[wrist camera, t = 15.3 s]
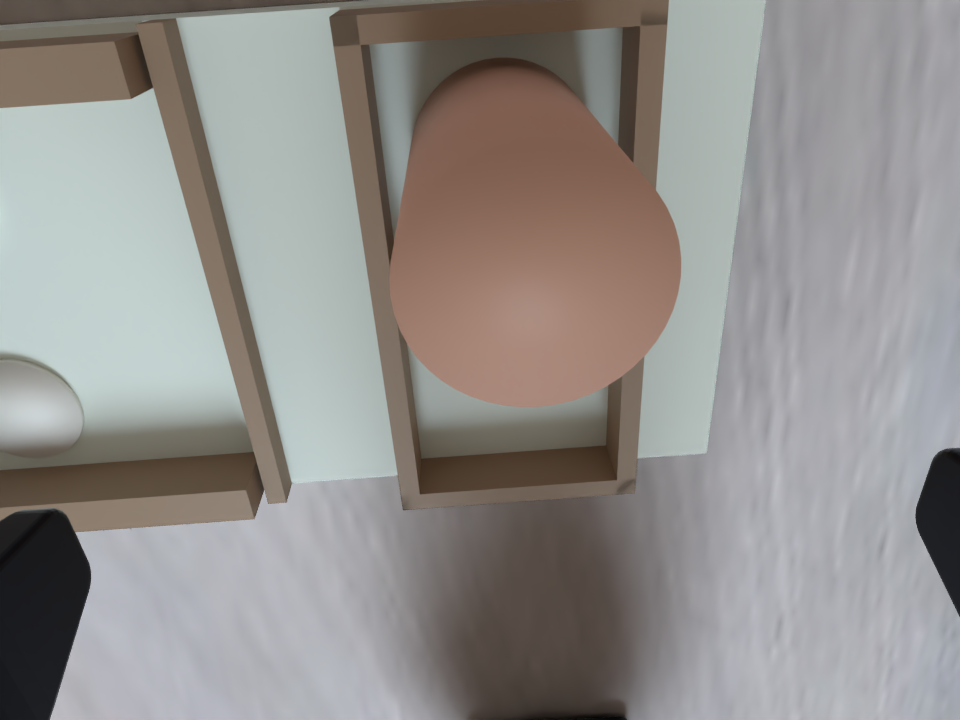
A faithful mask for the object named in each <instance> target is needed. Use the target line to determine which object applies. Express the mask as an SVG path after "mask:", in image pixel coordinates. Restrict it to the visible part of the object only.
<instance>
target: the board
mask: <svg viewBox="0 0 960 720" xmlns="http://www.w3.org/2000/svg"><path fill="white" fill-rule="evenodd" d="M765 5H766V0H362V1H347V2H332V3H318V4H303V5H288V6H273V7H259V8H244V9H229V10H214V11H200V12H185V13H170V14H155V15H141V16H126V17H111V18H97V19H82V20H67V21H52V22H38V23H23V24H8V25H0V521H1V520H2V519H4V518H5V517H7V516H9V515H10V514H12V513H14V512H17V511H20V510H29V509H44V508H56V509H60V510H61V511H63V512H64V513H65V514H66V515H67V517H68V518H69V520H70V522H71V525H72V527H73V529H74V531H75V532H84V531H98V530H112V529H125V528H139V527H153V526H167V525H181V524H194V523H208V522H222V521H236V520H250V519H255V516H256V513H257V510H258V507H259V504H260V501H261V498H262V495H263V492H264V490H265V494H266V498H267V501H268V504H272V503H286V502H287V499H288V495H289V492H290V488H291V484H292V483H304V482H318V481H332V480H346V479H359V478H373V477H387V476H398V480H399V487H400V494H401V500H402V507H403V510H412V509H426V508H439V507H453V506H467V505H481V504H495V503H508V502H522V501H536V500H550V499H564V498H578V497H591V496H605V495H619V494H633V493H635V485H636V471H637V458H651V457H665V456H679V455H693V454H706V453H707V447H708V439H709V431H710V424H711V416H712V409H713V401H714V393H715V386H716V378H717V370H718V363H719V355H720V348H721V340H722V332H723V325H724V317H725V310H726V302H727V294H728V287H729V279H730V271H731V264H732V256H733V249H734V241H735V233H736V226H737V218H738V210H739V203H740V195H741V188H742V180H743V172H744V165H745V157H746V150H747V142H748V134H749V127H750V119H751V111H752V104H753V96H754V89H755V81H756V73H757V66H758V58H759V50H760V43H761V35H762V28H763V20H764V12H765ZM491 58H517V59H523V60H527V61H530V62H533V63H536V64H538V65H540V66H543V67H545V68H547V69H548V70H550V71H551V72H553V73H554V74H556V75H557V76H558V77H560V78H561V79H562V80H563V81H564V82H565V83H566V84H567V85H568V86H569V87H570V88H571V89H572V91H573V92H574V93H575V94H576V95H577V97H578V98H579V99H580V100H581V101H582V102H583V104H584V105H585V106H586V107H587V108H588V110H589V111H590V112H591V113H592V114H593V116H594V117H595V118H596V119H597V120H598V122H599V123H600V124H601V125H602V126H603V128H604V129H605V130H606V131H607V132H608V134H609V135H610V136H611V137H612V138H613V140H614V141H615V142H616V143H617V144H618V146H619V147H620V148H621V149H622V150H623V152H624V153H625V154H626V155H627V156H628V157H629V159H630V160H631V161H632V162H633V163H634V165H635V166H636V167H637V168H638V169H639V171H640V172H641V173H642V174H643V175H644V177H645V178H646V179H647V180H648V181H649V183H650V184H651V185H652V186H653V187H654V189H655V190H656V191H657V192H658V194H659V195H660V197H661V199H662V200H663V202H664V203H665V205H666V206H667V208H668V211H669V213H670V215H671V217H672V219H673V222H674V224H675V228H676V231H677V235H678V239H679V244H680V252H681V279H680V285H679V292H678V296H677V299H676V302H675V306H674V309H673V312H672V314H671V316H670V318H669V320H668V323H667V325H666V327H665V328H664V330H663V332H662V333H661V335H660V337H659V338H658V340H657V341H656V343H655V344H654V345H653V346H652V348H651V349H650V350H649V351H648V353H647V354H646V355H645V356H644V357H643V358H642V359H641V360H640V361H639V362H638V363H637V364H636V365H635V366H634V367H633V368H632V369H630V370H629V371H628V372H627V373H625V374H624V375H623V376H622V377H620V378H619V379H617V380H616V381H614V382H612V383H611V384H609V385H608V386H606V387H604V388H602V389H600V390H598V391H596V392H594V393H592V394H590V395H587V396H584V397H581V398H579V399H576V400H573V401H569V402H565V403H561V404H556V405H549V406H541V407H514V406H504V405H499V404H494V403H489V402H485V401H482V400H479V399H476V398H473V397H471V396H468V395H466V394H464V393H462V392H460V391H458V390H456V389H454V388H453V387H451V386H449V385H448V384H446V383H444V382H443V381H441V380H440V379H439V378H438V377H436V376H435V375H434V374H433V373H432V372H430V371H429V370H428V369H427V368H426V367H425V366H424V365H423V364H422V363H421V361H420V360H419V359H418V358H417V357H416V356H415V354H414V353H413V351H412V350H411V349H410V347H409V346H408V344H407V343H406V341H405V339H404V337H403V335H402V333H401V331H400V329H399V326H398V324H397V321H396V318H395V315H394V312H393V307H392V302H391V297H390V283H389V276H390V264H391V257H392V251H393V245H394V240H395V234H396V228H397V222H398V216H399V211H400V205H401V199H402V193H403V188H404V182H405V176H406V170H407V165H408V159H409V153H410V147H411V142H412V136H413V131H414V127H415V123H416V121H417V118H418V115H419V113H420V111H421V109H422V107H423V105H424V103H425V101H426V100H427V99H428V97H429V96H430V94H431V93H432V92H433V91H434V89H435V88H436V87H437V86H438V85H439V84H440V83H441V82H442V81H443V80H445V79H446V78H447V77H448V76H449V75H451V74H452V73H454V72H456V71H457V70H459V69H460V68H462V67H465V66H467V65H469V64H471V63H474V62H477V61H481V60H484V59H491Z"/></svg>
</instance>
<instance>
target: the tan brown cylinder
mask: <svg viewBox="0 0 960 720" xmlns="http://www.w3.org/2000/svg"><path fill="white" fill-rule="evenodd" d="M680 279H681V252H680V244H679V239H678V235H677V231H676V228H675V224H674V222H673V219H672V217H671V215H670V213H669V211H668V208H667V206H666V205H665V203H664V202H663V200H662V199H661V197H660V195H659V194H658V192H657V191H656V190H655V189H654V187H653V186H652V185H651V184H650V183H649V181H648V180H647V179H646V178H645V177H644V175H643V174H642V173H641V172H640V171H639V169H638V168H637V167H636V166H635V165H634V163H633V162H632V161H631V160H630V159H629V157H628V156H627V155H626V154H625V153H624V152H623V150H622V149H621V148H620V147H619V146H618V144H617V143H616V142H615V141H614V140H613V138H612V137H611V136H610V135H609V134H608V132H607V131H606V130H605V129H604V128H603V126H602V125H601V124H600V123H599V122H598V120H597V119H596V118H595V117H594V116H593V114H592V113H591V112H590V111H589V110H588V108H587V107H586V106H585V105H584V104H583V102H582V101H581V100H580V99H579V98H578V97H577V95H576V94H575V93H574V92H573V91H572V89H571V88H570V87H569V86H568V85H567V84H566V83H565V82H564V81H563V80H562V79H561V78H560V77H558V76H557V75H556V74H554V73H553V72H551V71H550V70H548V69H547V68H545V67H543V66H540V65H538V64H536V63H533V62H530V61H527V60H523V59H517V58H491V59H484V60H481V61H477V62H474V63H471V64H469V65H467V66H465V67H462V68H460V69H459V70H457V71H456V72H454V73H452V74H451V75H449V76H448V77H447V78H446V79H445V80H443V81H442V82H441V83H440V84H439V85H438V86H437V87H436V88H435V89H434V91H433V92H432V93H431V94H430V96H429V97H428V99H427V100H426V101H425V103H424V105H423V107H422V109H421V111H420V113H419V115H418V118H417V121H416V123H415V127H414V131H413V136H412V142H411V147H410V153H409V159H408V165H407V170H406V176H405V182H404V188H403V193H402V199H401V205H400V211H399V216H398V222H397V228H396V234H395V240H394V245H393V251H392V257H391V264H390V276H389V283H390V297H391V302H392V307H393V312H394V315H395V318H396V321H397V324H398V326H399V329H400V331H401V333H402V335H403V337H404V339H405V341H406V343H407V344H408V346H409V347H410V349H411V350H412V351H413V353H414V354H415V356H416V357H417V358H418V359H419V360H420V361H421V363H422V364H423V365H424V366H425V367H426V368H427V369H428V370H429V371H430V372H432V373H433V374H434V375H435V376H436V377H438V378H439V379H440V380H441V381H443V382H444V383H446V384H448V385H449V386H451V387H453V388H454V389H456V390H458V391H460V392H462V393H464V394H466V395H468V396H471V397H473V398H476V399H479V400H482V401H485V402H489V403H494V404H499V405H504V406H514V407H541V406H549V405H556V404H561V403H565V402H569V401H573V400H576V399H579V398H581V397H584V396H587V395H590V394H592V393H594V392H596V391H598V390H600V389H602V388H604V387H606V386H608V385H609V384H611V383H612V382H614V381H616V380H617V379H619V378H620V377H622V376H623V375H624V374H625V373H627V372H628V371H629V370H630V369H632V368H633V367H634V366H635V365H636V364H637V363H638V362H639V361H640V360H641V359H642V358H643V357H644V356H645V355H646V354H647V353H648V351H649V350H650V349H651V348H652V346H653V345H654V344H655V343H656V341H657V340H658V338H659V337H660V335H661V333H662V332H663V330H664V328H665V327H666V325H667V323H668V320H669V318H670V316H671V314H672V312H673V309H674V306H675V302H676V299H677V296H678V292H679V285H680Z"/></svg>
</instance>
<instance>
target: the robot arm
mask: <svg viewBox="0 0 960 720" xmlns="http://www.w3.org/2000/svg"><path fill="white" fill-rule="evenodd" d="M916 524H917V528H918V531H919V534H920V536H921V538H922V540H923V542H924V544H925V546H926V548H927V550H928V552H929V554H930V557H931V559H932V561H933V563H934V565H935V567H936V569H937V571H938V573H939V575H940V577H941V579H942V581H943V583H944V585H945V587H946V589H947V592H948V594H949V596H950V598H951V600H952V602H953V604H954V606H955V608H956V610H957V612H958V614H959V616H960V448H949V449H944V450H942V451H940V452H938V453H937V454H936V455H935V457H934V458H933V460H932V463H931V465H930V468H929V471H928V474H927V477H926V480H925V483H924V486H923V489H922V492H921V495H920V498H919V501H918V504H917V507H916ZM90 583H91V570H90V565H89V562H88V560H87V557H86V555H85V553H84V551H83V549H82V547H81V544H80V542H79V540H78V538H77V536H76V533H75V531H74V529H73V527H72V525H71V522H70V520H69V518H68V517H67V515H66V514H65V513H64V512H63V511H61V510H60V509H56V508H44V509H29V510H20V511H17V512H14V513H12V514H10V515H9V516H7V517H5V518H4V519H2V520H1V521H0V720H50V717H51V714H52V711H53V708H54V705H55V702H56V698H57V695H58V692H59V689H60V685H61V682H62V679H63V675H64V672H65V669H66V665H67V662H68V659H69V655H70V652H71V649H72V646H73V642H74V639H75V636H76V632H77V629H78V626H79V622H80V619H81V616H82V612H83V609H84V606H85V603H86V599H87V596H88V593H89V589H90ZM579 720H626V719H625V718H623V717H606V718H593V719H579Z"/></svg>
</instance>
